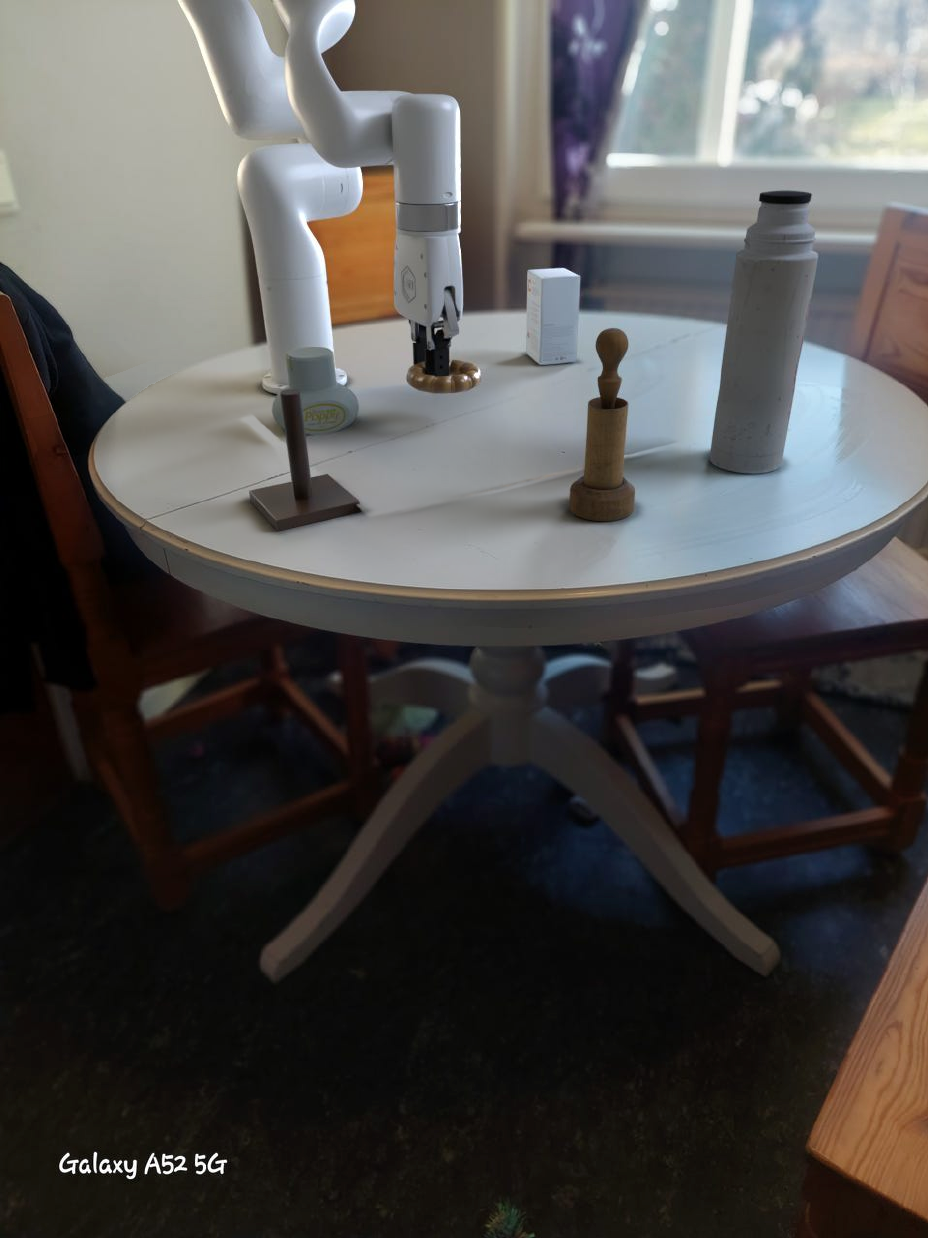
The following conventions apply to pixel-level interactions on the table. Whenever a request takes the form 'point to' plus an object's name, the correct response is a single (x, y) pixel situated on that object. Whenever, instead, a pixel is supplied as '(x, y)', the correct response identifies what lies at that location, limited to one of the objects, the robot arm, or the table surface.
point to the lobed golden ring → (445, 378)
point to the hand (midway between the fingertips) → (431, 375)
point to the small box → (552, 315)
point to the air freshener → (318, 392)
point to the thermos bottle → (765, 335)
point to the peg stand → (301, 480)
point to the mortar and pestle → (605, 442)
